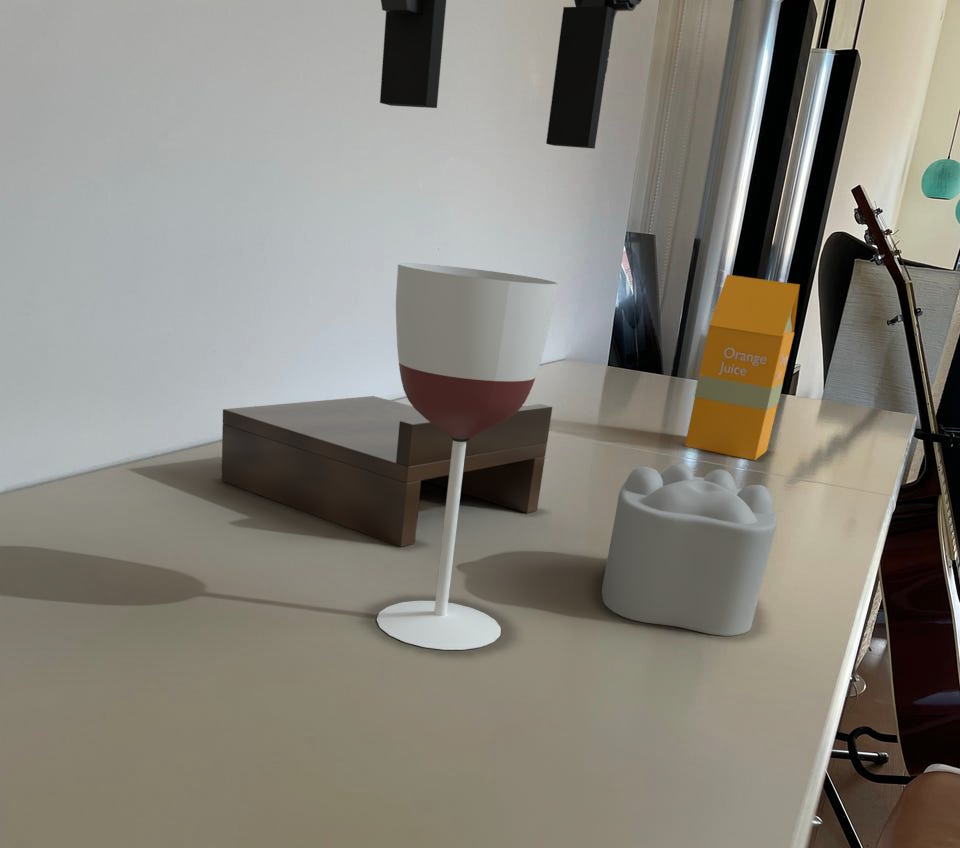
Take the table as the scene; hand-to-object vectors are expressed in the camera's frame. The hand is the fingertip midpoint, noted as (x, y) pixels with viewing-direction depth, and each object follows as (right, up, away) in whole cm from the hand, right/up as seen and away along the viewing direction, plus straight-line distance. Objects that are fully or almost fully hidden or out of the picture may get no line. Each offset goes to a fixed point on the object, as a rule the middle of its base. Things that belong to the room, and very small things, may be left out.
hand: (497, 129), depth 49 cm
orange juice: (+30, -2, +74) cm, 80 cm away
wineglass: (-3, -25, +11) cm, 27 cm away
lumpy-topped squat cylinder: (+13, -22, +21) cm, 33 cm away
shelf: (-9, -13, +35) cm, 39 cm away
